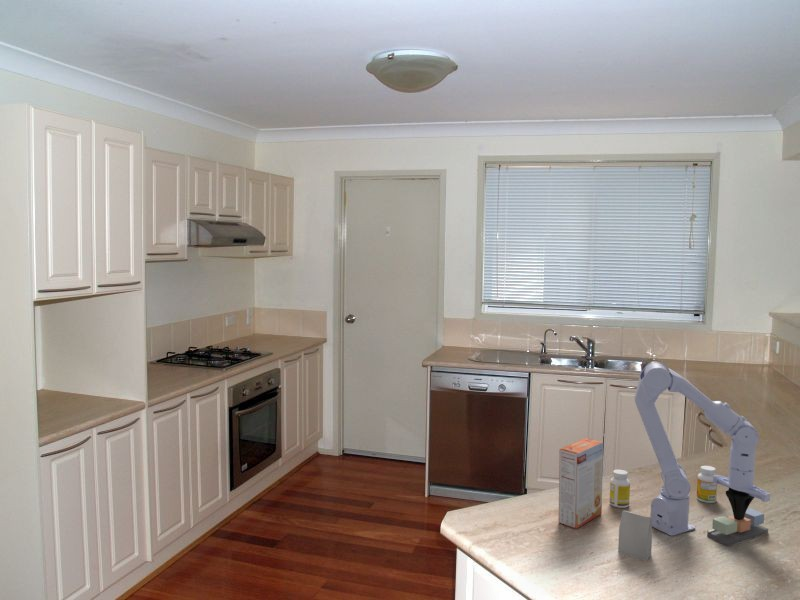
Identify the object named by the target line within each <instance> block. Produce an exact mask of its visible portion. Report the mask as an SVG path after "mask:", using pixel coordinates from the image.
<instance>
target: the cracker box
mask: <svg viewBox="0 0 800 600" xmlns="http://www.w3.org/2000/svg"><path fill="white" fill-rule="evenodd" d="M558 458H559V463H558V464H559V466H558V467H559V469H558V476H559V477H558V480H559V481H558V524H560V523H561V525H563V524H564V525H565V526H567V527H569V528H572V529H575V530H578V529H579V528H580V527H582V526H584V525H585V524H587V523H588V522H590V521H592V520H593V519H595V518H597V517H599V516H600V515H601V514H602V512H603V509H602V508H603V507H602V506H603V505H602V504H603V478H604V477H603V473H604V470H603V469H604V466H603V465H604V442H603V441H602V440H601V441H600V440H596V439H594V438H590V437H589V438H588V437H584V438H582V439H580V440H578V441H575V442H573V443H569V445H566V446H563V447H561V448H559V457H558Z"/></svg>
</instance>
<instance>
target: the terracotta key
mask: <svg viewBox="0 0 800 600" xmlns="http://www.w3.org/2000/svg"><path fill="white" fill-rule="evenodd" d="M726 517H727V518H729V519H732V520H734V521H736V522H737V531H738V532H740V533H741V532H744V531H747V530H750V526H751V520H750V519H747V518H745V517H744V519H741V520H737V519H735V518H734V515H733V514H732V515H729V516H726Z"/></svg>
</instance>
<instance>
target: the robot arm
mask: <svg viewBox="0 0 800 600" xmlns="http://www.w3.org/2000/svg"><path fill="white" fill-rule="evenodd" d="M666 390H667V391H668V392H669V393H680V394H681V395H682V396H684V397H686V398H687V399H688V400H690V401H691V402H692V403H693V404H695V405H696V406H697V407H699V408H701V409H702V410H703V412H704V418H705V419H707V420H708V422H710V423H712V425H714V426H716V427H717V428H718V429H719V430H721V431H722V432H723V433H724V434H726V435H729V436H730V437H731V441H730V451H729V465H728V477H727V476H724V475H720V474H714V475H715V476H713V483H715V484H717V485H718V484H719V485H721V486H723V487H726V488H728V490H725V495H726V497H727V499H728V501H729V503H730V506H731V510H732V515H734V518H735V519H737V520H741V519H744V516H745V513H746V510H747V509H748V508H749V507H750V504H751V503H752V502H753V500H754V499H757V500H760V501H761V502H764V503H766V502H770V501H771V493H770V492H768V491H766V490H764V489H761V487H758V486H756V485H755V484H754V481H755V480H754V479H755V464H756V445H757V444H758V443H759V441H760V437H759V434H758V433H759V432H758V431H757V429H755V427H754V426H753V424H752V423H750V422H749V420H748V419H746V417H745V416H743V415H739V414H738V413H737V412H736V411H734V410H733V409H731V405H730V404H729V403H727V402H725V401H724V402H722V401H721V400H711V399H710V398H709V397H708V396H706V394H704V393H703V392H701V391H700V390H699V389H698V388H697V387H696V386H694V385H693V384H692V383H691V382H689V380H687V379H686V378H684V377H683V376H682V375H681V374H679V373H678V372H676V371H674V370H673V369H671V368H670V367H669V368H667V366H666V365H665V364H663V362H660V361H650V362H649V363H648V364H645V367H644V368H643V369H642V371H640V373H639V377H638V381H637V386H636V389H635V394H634V403H635V406H636V408H637V411H638V414H639V416H640V418H641V421H642V423H643V425H644V429H645V431H646V433H647V436H648V439H649V441H650V444H651V446H652V449H653V452H654V454H655V456H656V459H657V461H658V464H659V467H660V469H661V473H660V474H661V476H660V477H661V479H662V482H663V485H662V487H661V488H660V489H659V491H660V492H659V494H658V496H656V497H655V498H653V499H652V501H651V504H650V516H649V517H651V526H652V528H655V529H657V530H659V531H661V532H662V533H665V534H667V535H668V536H676V535H679V534H682V533H683V534H684V533H686V532H690V531H693V530H695V529H696V526H694V525H693V524H690V523H689V515H690V500H691V499H690V496H691V494H690V492H691V484H690V482H689V480H688V478H687V473H686V471H685V469H684V468H683V467H682V466H681V465H680V464H679V462H678V460H677V458H676V455H675V453H674V450H673V448H672V445H671V442H670V439H669V438H668V435H667V432H666V431H665V427H664V425H663V422H662V420H661V417H660V415H659V412H658V410H657V407H656V404H655V403H656V401H657V400H658V398H659V396H660V395H661V394H663V393H664V392H665V391H666Z"/></svg>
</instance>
